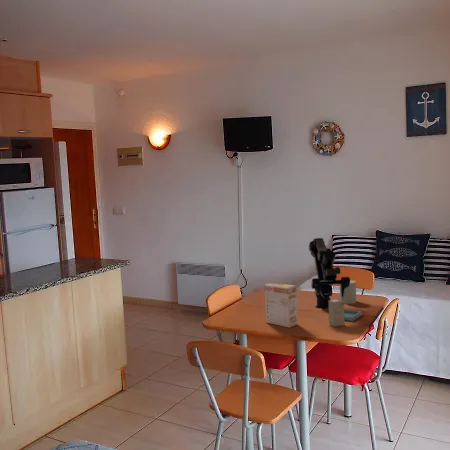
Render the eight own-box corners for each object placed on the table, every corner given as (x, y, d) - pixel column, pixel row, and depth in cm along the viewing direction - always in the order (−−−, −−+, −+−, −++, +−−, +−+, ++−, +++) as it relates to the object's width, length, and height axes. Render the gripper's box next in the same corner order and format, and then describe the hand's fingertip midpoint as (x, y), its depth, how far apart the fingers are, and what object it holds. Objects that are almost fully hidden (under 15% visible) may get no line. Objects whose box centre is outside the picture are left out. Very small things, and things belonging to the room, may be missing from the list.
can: (336, 302, 288) (335, 281, 287) (346, 298, 295) (345, 278, 293) (350, 304, 282) (349, 283, 280) (359, 301, 288) (359, 280, 287)
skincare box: (334, 327, 244) (333, 302, 242) (328, 325, 248) (327, 300, 246) (345, 324, 246) (344, 300, 245) (339, 322, 250) (338, 298, 249)
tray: (329, 318, 258) (329, 314, 258) (339, 312, 268) (339, 308, 268) (352, 321, 251) (352, 317, 251) (361, 315, 261) (361, 311, 261)
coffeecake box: (298, 324, 251) (296, 285, 249) (289, 328, 246) (287, 288, 244) (274, 319, 262) (273, 281, 260) (265, 322, 257) (263, 284, 255)
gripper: (311, 262, 256) (316, 289, 246) (348, 260, 255) (355, 287, 245) (309, 275, 264) (313, 301, 254) (345, 273, 264) (351, 299, 254)
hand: (333, 297), depth 252 cm, fingers open, 9 cm apart
